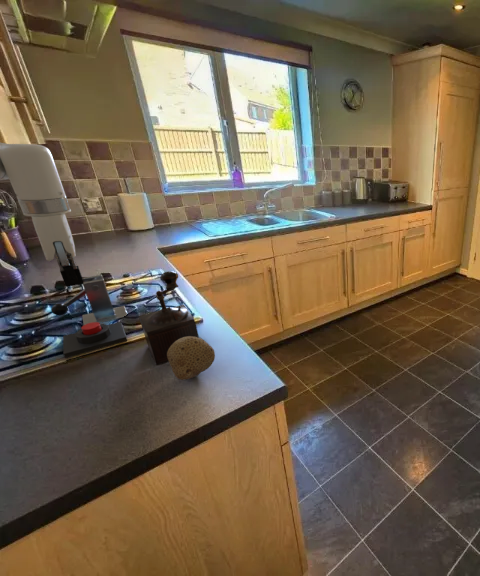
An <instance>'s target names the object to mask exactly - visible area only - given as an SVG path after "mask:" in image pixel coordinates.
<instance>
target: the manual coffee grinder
mask: <svg viewBox="0 0 480 576" xmlns="http://www.w3.org/2000/svg"><path fill="white" fill-rule="evenodd" d="M160 279H161V281H162V282H164V283H165V284H166V285H165V289H164V290H157V291H156V292H155V296H156V299H157V300H158V301H159V305H160V307H161V308H160V309H158V310H157V311H153V312H149V313H145V314H142V315H139V316H138V318H139V323H140V325H141V329H142V331H143V334H144V338H145V341H146V344H147V347H148V350H149V353H150V356H151V357H152V359H153V361H154V363H155V365H156V366H159V365H163V364H166V363H169V361H168V358H167V352H168V349H169V348H170V346H171V345H172V344H173V343H174V342H175V341H177V340H178V339H181V338H183V337H187V336H192V337H198V338H200V336H199V332H198V327H197V323H196V320H195V318H194V316H193V315H192V314H191V312H190V311H189V309H188V308H187V306H186V305H185V304H180V305H176V306H173V307H171V306H166V303H165V299H166V298H165V294H167V293H168V292H170V291H174V290H176V289H177V288H179V285H178V283H177V281H178V279H179V274H178V273H177V271H172V270H169V271H164V272H162V274H161V275H160Z"/></svg>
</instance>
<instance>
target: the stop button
mask: <svg viewBox="0 0 480 576" xmlns="http://www.w3.org/2000/svg"><path fill="white" fill-rule="evenodd" d="M100 324H101V323H98V322H93V323H88V324H86V325H84V324H83V325H82V326H81V329H82V331H83V334H84V335H91V334H95V333H97V332H100V331H101V330H102V328H101V326H100Z"/></svg>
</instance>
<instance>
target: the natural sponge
mask: <svg viewBox="0 0 480 576" xmlns="http://www.w3.org/2000/svg"><path fill="white" fill-rule="evenodd" d="M215 357H216V351H215V349H214V348H213V347H212V346H211V345H210V344H209V343H208V342H207V341H206V340H205V339H202V338H201V337H199V338H198V337H192V336H187V337H183V338H181V339H178V340H177V341H175V342H174V343H173V344H172V345H171V346H170V348H169V349H168V352H167V358H168V361H169V362H168V363H169V366H170V368H171V370H172V373H173V375H174V376H175V378H176V379H178V380H181V381H187V380H189V379H194V378H196V377H197V376H199V375H200V374H201V373H202V372H205V371H206V370H208V369H209V368H211V366H212V365H213V364H214V362H215Z"/></svg>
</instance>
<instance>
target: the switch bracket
mask: <svg viewBox="0 0 480 576" xmlns="http://www.w3.org/2000/svg"><path fill="white" fill-rule="evenodd" d="M103 276H104V275H103V274H97V275H91V276H85V277H82V278H83V284H82V286H83V288H84V289H85V291H86V294H85V295H86V296H87V300H88V302H89V306H90V308H91V310H92V312H90V313H85V314H82V322H83V326H84V325H86V324H88V323H93V322H98V323H100V324H103V323H106V322H110V321H114V320H119V319H122V318H123V319H124V318H125V317H124V316H126V315H127V314H128V311H127V309H126V306H125V305H121V306H117V307H114V306H113V303H112V301H111V297H110V294H109V291H108V288H107V286H106V283H105V279H104V277H103ZM94 278H97V279H98V280H94V281H91V280H92V279H94Z"/></svg>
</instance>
